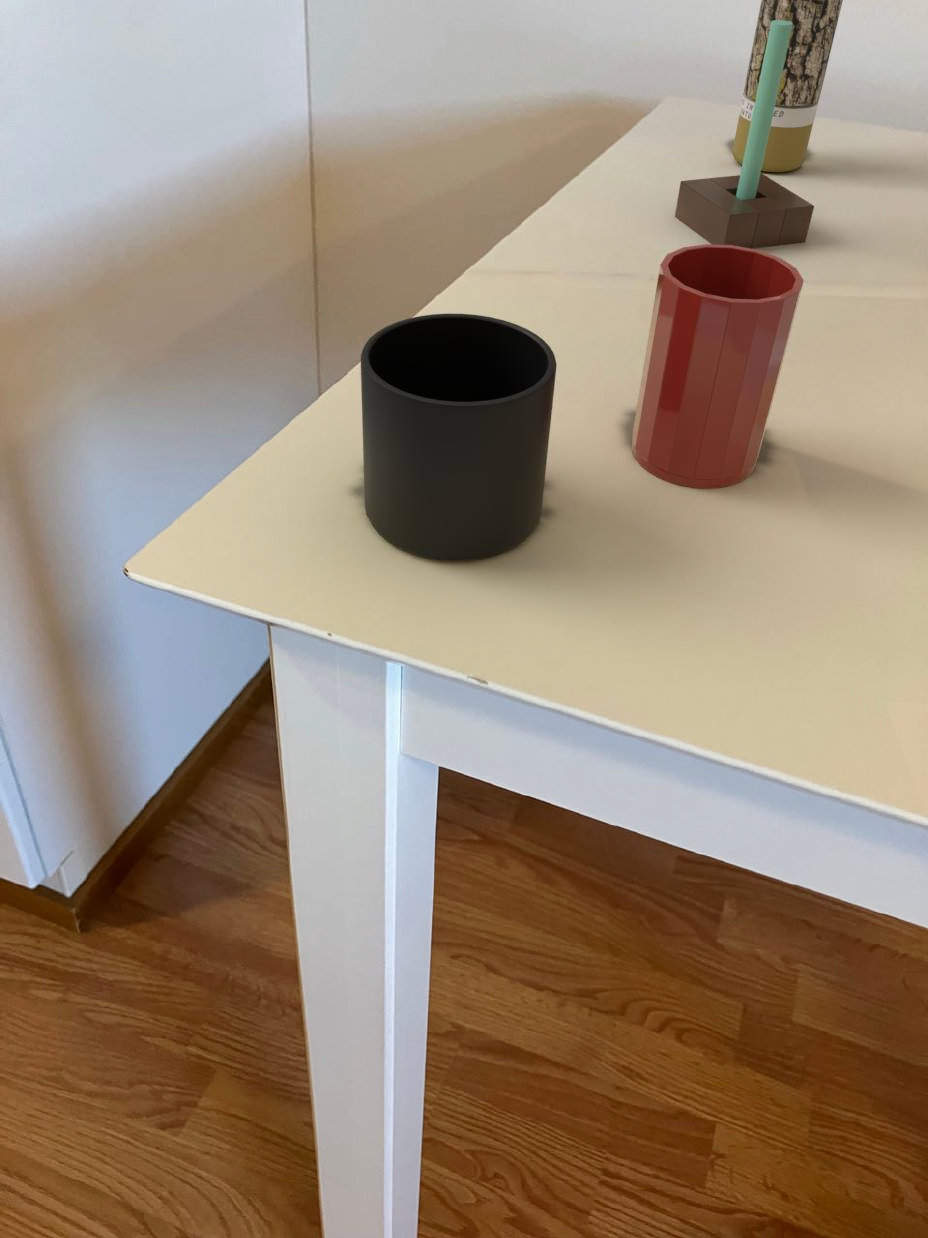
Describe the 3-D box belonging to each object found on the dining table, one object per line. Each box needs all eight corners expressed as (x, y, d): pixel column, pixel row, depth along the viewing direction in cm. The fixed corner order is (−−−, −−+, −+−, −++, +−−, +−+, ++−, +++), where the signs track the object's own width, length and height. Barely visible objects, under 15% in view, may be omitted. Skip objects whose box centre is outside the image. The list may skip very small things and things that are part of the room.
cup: (741, 423, 65) (784, 246, 58) (768, 490, 60) (818, 304, 53) (624, 419, 65) (652, 241, 58) (640, 486, 60) (673, 299, 52)
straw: (743, 239, 87) (789, 20, 77) (747, 246, 86) (795, 25, 76) (725, 238, 87) (769, 19, 77) (728, 246, 86) (774, 24, 76)
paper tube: (789, 180, 98) (866, -153, 82) (720, 164, 101) (781, -162, 85) (812, 160, 103) (890, -159, 86) (745, 145, 105) (808, -168, 89)
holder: (751, 220, 90) (761, 172, 88) (802, 256, 85) (814, 205, 83) (672, 229, 88) (680, 180, 86) (719, 266, 83) (729, 214, 80)
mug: (538, 441, 63) (552, 294, 57) (543, 568, 54) (560, 410, 48) (377, 434, 63) (374, 286, 57) (355, 559, 54) (349, 399, 48)
